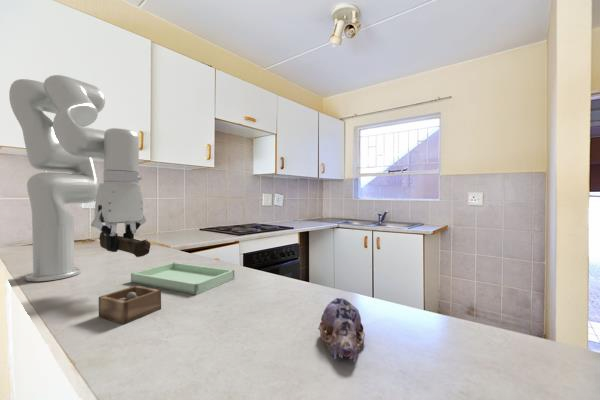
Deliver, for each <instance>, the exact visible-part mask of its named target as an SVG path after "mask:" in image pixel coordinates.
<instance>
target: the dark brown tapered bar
mask: <svg viewBox="0 0 600 400" xmlns="http://www.w3.org/2000/svg"><path fill="white" fill-rule="evenodd" d="M115 236H118V251H121V252H125V253H129V254H132V255H134V256H135V257H136V258H140V257H141V258H142V257H144V256H147V255H148V254H149V253H150V248H151V242H150V241H149V240H146V239H143V240H139V239H136V238H134V239H129V238H124V237H123V236H119V235H118V233H117V232H116V234H115ZM106 237H107V235H104V233H103V232H102V231H100V233H99V237H98V239H99V245H100V247H101V249H104V250H106V251H108V250H107V247H106Z"/></svg>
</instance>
